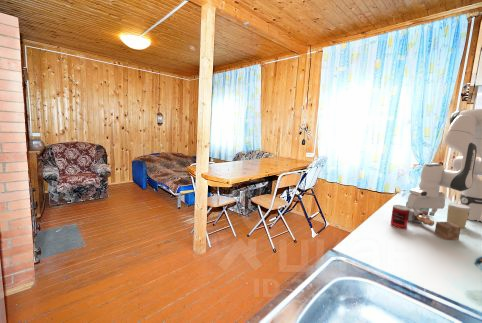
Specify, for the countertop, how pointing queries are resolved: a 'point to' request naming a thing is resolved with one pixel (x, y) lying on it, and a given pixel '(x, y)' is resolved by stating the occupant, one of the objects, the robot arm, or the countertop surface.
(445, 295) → the countertop surface
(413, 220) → the sleeve
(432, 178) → the robot arm
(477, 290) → the countertop surface
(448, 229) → the socket
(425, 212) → the blue thin box
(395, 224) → the canned food
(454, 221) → the coffee cup
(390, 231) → the countertop surface
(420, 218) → the tube
